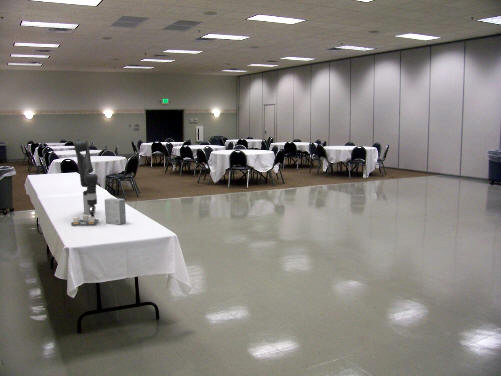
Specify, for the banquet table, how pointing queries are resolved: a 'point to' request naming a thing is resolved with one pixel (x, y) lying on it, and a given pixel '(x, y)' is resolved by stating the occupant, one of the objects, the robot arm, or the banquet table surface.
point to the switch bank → (85, 223)
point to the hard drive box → (115, 211)
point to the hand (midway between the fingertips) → (93, 219)
